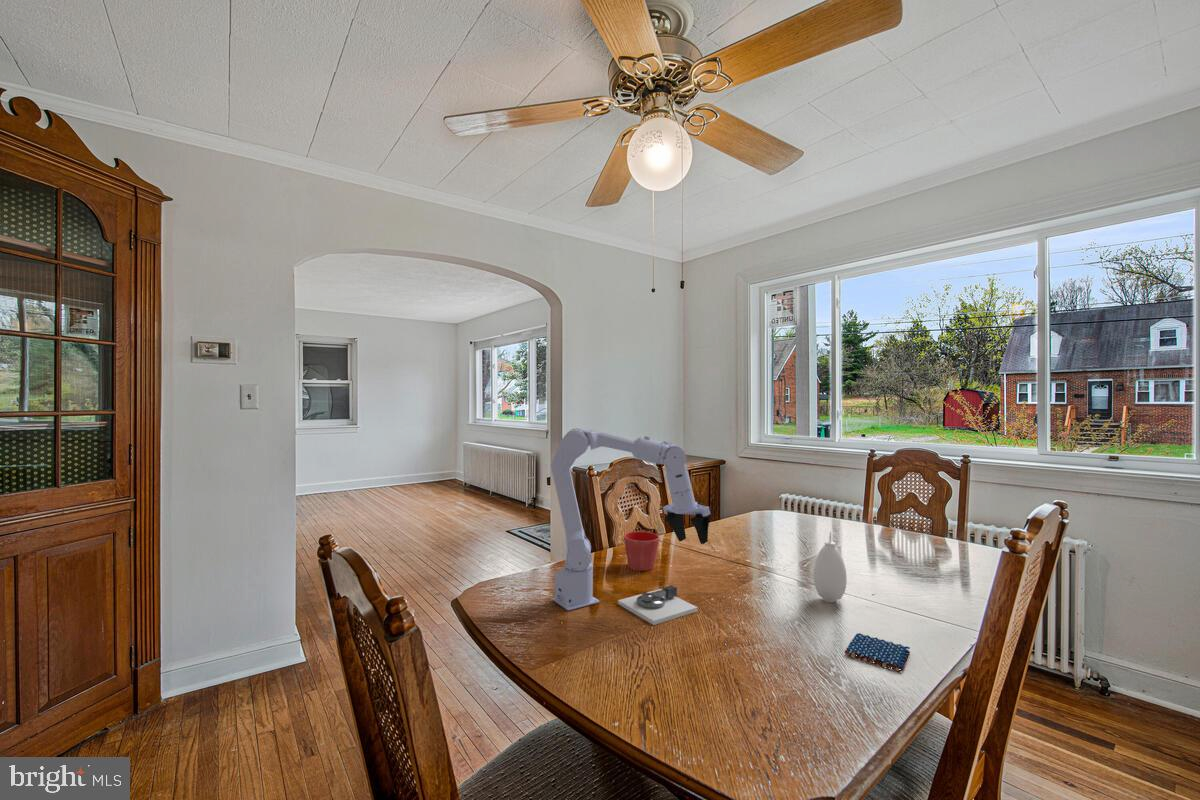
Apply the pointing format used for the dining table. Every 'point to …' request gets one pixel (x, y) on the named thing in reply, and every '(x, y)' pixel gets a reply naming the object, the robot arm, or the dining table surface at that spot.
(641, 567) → the flower pot
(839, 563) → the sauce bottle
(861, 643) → the woven mat
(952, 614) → the dining table surface
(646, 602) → the crank handle
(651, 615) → the stand plate
